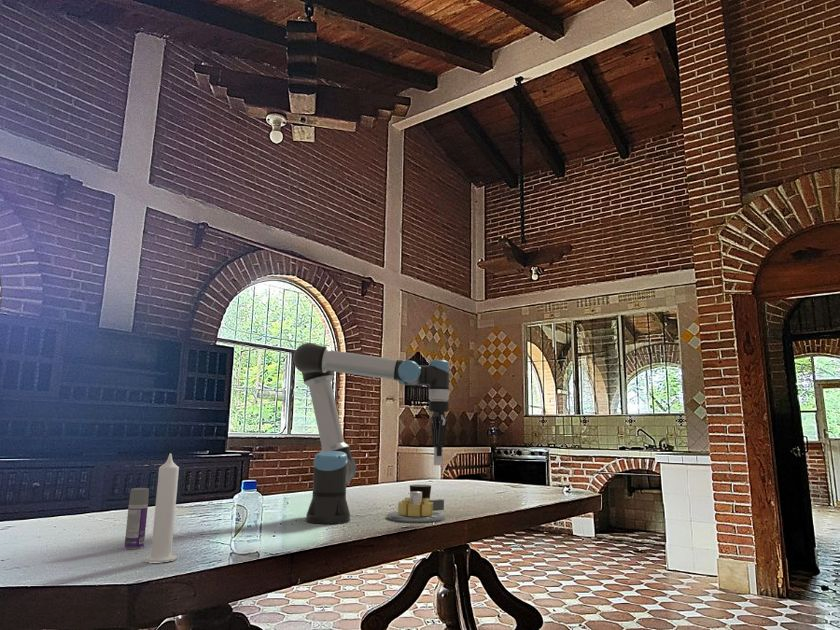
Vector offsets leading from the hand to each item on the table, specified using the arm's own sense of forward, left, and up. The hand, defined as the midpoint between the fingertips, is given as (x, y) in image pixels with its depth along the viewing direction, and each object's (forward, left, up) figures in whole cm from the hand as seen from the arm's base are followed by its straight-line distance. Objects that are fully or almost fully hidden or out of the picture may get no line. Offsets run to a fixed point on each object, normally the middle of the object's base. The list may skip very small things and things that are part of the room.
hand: (437, 465), depth 219 cm
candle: (-65, -79, -19) cm, 104 cm away
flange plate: (-8, -1, -19) cm, 20 cm away
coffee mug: (-7, +18, -19) cm, 27 cm away
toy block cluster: (-6, +1, -17) cm, 18 cm away
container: (-79, -65, -19) cm, 104 cm away
